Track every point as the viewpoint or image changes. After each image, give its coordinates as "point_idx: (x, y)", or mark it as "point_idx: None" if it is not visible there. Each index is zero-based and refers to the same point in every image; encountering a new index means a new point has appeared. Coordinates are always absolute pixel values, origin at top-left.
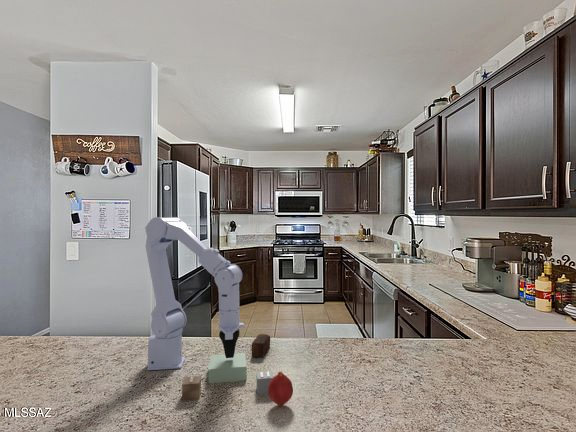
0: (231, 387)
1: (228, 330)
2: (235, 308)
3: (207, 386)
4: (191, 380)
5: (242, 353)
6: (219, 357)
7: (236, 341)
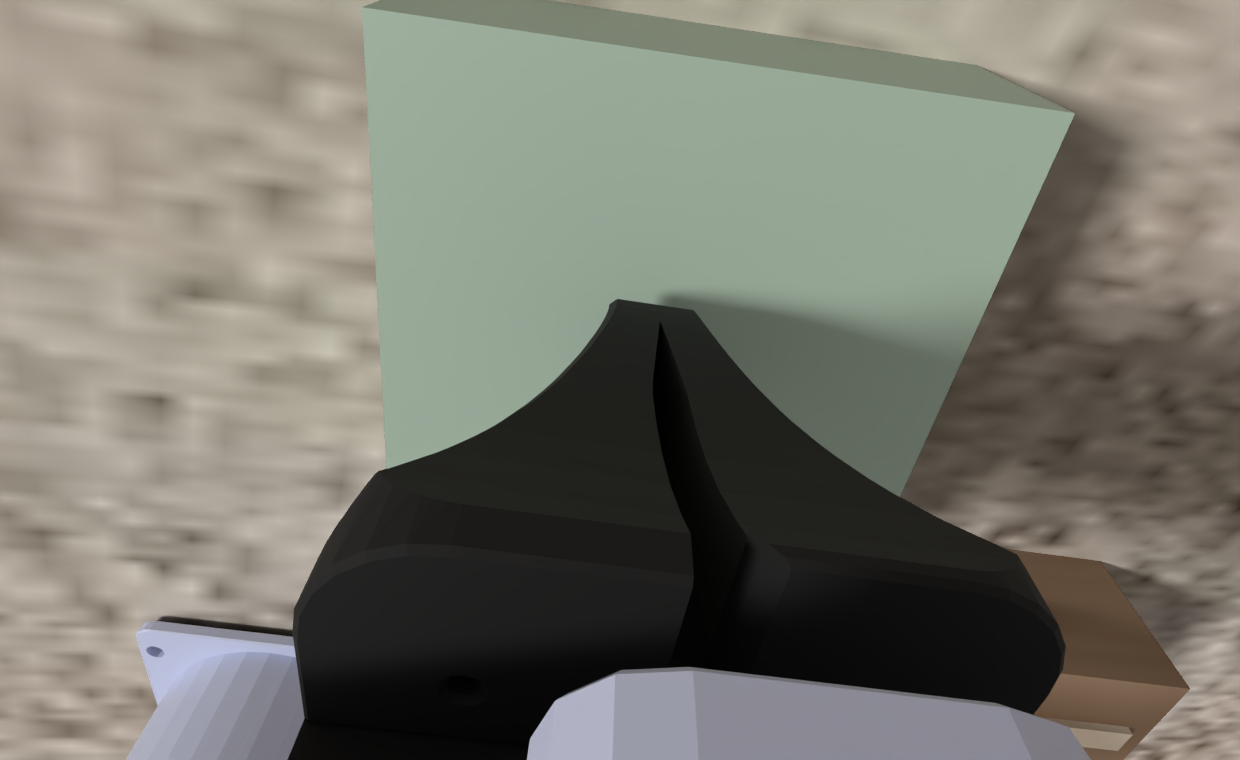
0: (1058, 287)
1: None
2: None
3: None
4: (1098, 739)
5: (391, 67)
6: None
7: (868, 482)
